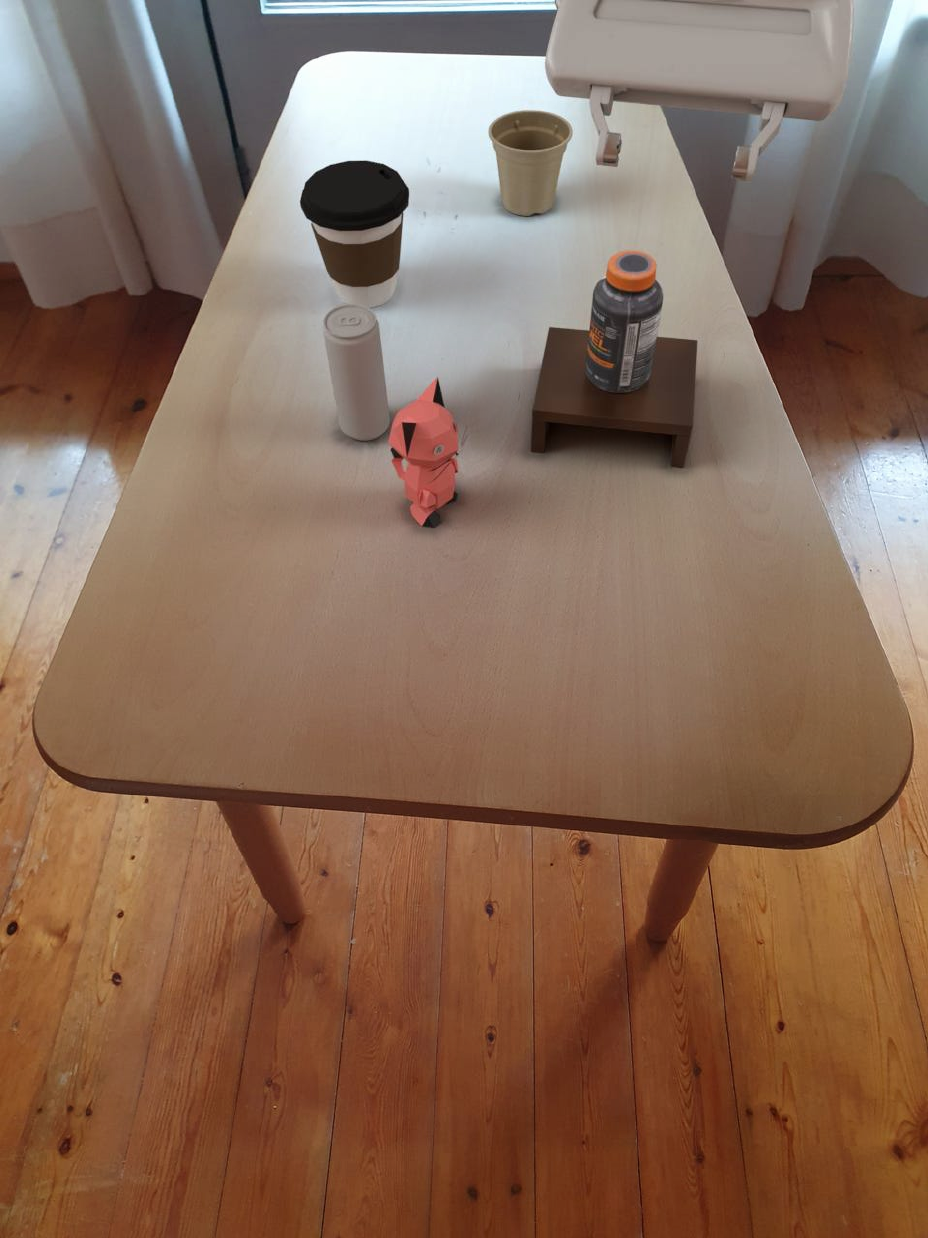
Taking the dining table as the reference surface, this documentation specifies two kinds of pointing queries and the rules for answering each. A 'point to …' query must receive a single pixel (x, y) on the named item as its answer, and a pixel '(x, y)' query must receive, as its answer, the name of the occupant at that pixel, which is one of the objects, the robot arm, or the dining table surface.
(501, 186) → the flower pot
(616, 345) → the pill bottle
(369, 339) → the beverage can
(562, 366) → the shelf
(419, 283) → the dining table surface
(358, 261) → the coffee cup
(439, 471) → the cat figurine
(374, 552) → the dining table surface
